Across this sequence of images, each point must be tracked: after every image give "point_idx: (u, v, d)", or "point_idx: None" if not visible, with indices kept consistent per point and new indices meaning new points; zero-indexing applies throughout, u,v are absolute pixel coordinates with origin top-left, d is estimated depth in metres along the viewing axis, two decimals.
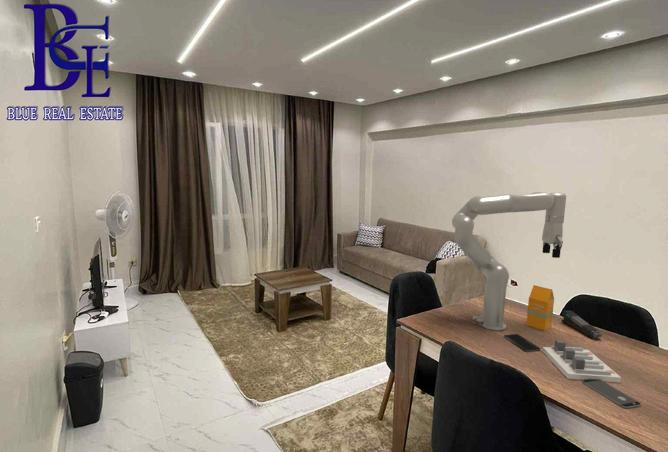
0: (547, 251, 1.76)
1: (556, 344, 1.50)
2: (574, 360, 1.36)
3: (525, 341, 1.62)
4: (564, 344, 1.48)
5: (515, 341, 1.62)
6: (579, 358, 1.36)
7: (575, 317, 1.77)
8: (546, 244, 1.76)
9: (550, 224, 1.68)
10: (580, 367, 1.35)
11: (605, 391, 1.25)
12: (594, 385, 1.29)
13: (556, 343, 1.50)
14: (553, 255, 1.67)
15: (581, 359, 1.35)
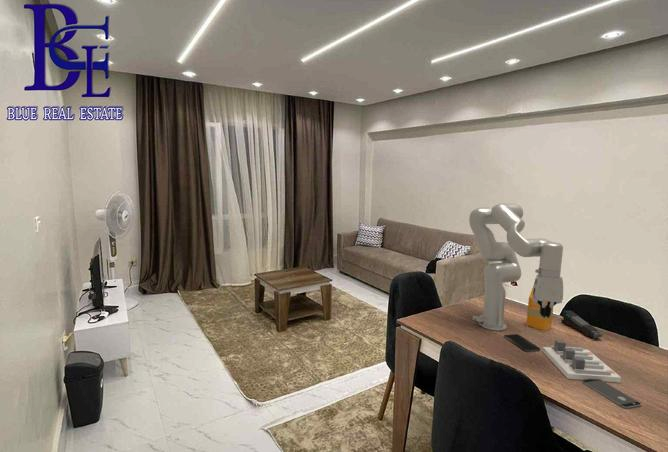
0: None
1: (556, 344, 1.50)
2: (574, 360, 1.36)
3: (525, 341, 1.62)
4: (564, 344, 1.48)
5: (515, 341, 1.62)
6: (579, 358, 1.36)
7: (575, 317, 1.77)
8: (544, 304, 1.48)
9: (558, 280, 1.44)
10: (580, 367, 1.35)
11: (605, 391, 1.25)
12: (594, 385, 1.29)
13: (556, 343, 1.50)
14: None
15: (581, 359, 1.35)
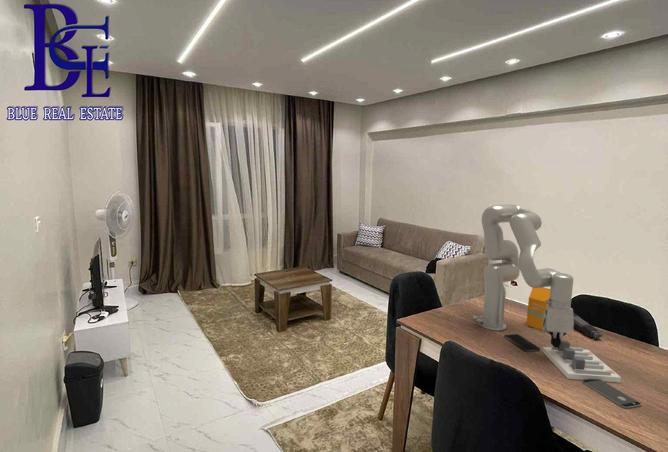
0: None
1: (560, 344, 1.50)
2: (574, 360, 1.36)
3: (525, 341, 1.62)
4: (568, 344, 1.48)
5: (515, 341, 1.62)
6: (579, 358, 1.36)
7: (575, 317, 1.77)
8: (555, 334, 1.49)
9: (568, 311, 1.45)
10: (580, 367, 1.35)
11: (605, 391, 1.25)
12: (594, 385, 1.29)
13: (560, 343, 1.50)
14: None
15: (581, 359, 1.35)
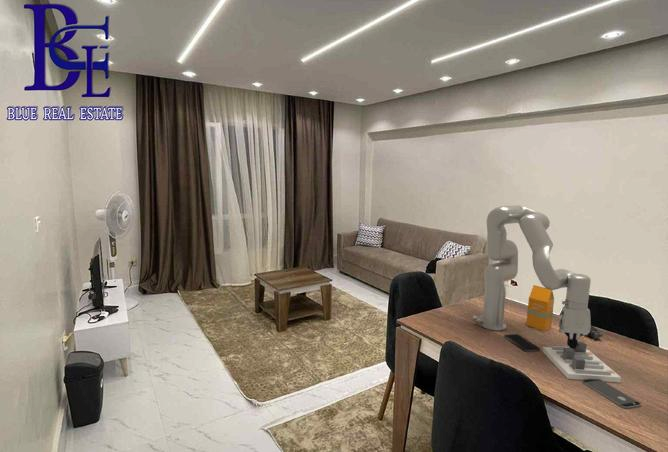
0: None
1: None
2: (574, 360, 1.36)
3: (525, 341, 1.62)
4: (585, 345, 1.47)
5: (515, 341, 1.62)
6: (579, 358, 1.36)
7: None
8: None
9: (585, 312, 1.44)
10: (580, 367, 1.35)
11: (605, 391, 1.25)
12: (594, 385, 1.29)
13: None
14: None
15: (581, 359, 1.35)
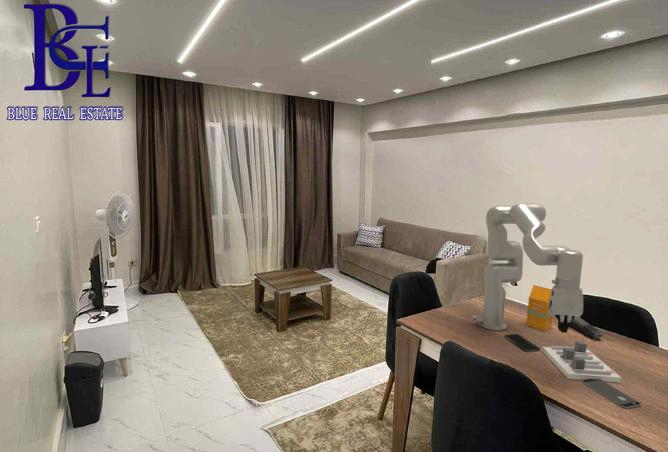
0: None
1: (577, 345, 1.49)
2: (574, 360, 1.36)
3: (525, 341, 1.62)
4: (585, 345, 1.47)
5: (515, 341, 1.62)
6: (579, 358, 1.36)
7: None
8: None
9: (577, 291, 1.30)
10: (580, 367, 1.35)
11: (605, 391, 1.25)
12: (594, 385, 1.29)
13: (577, 344, 1.49)
14: None
15: (581, 359, 1.35)
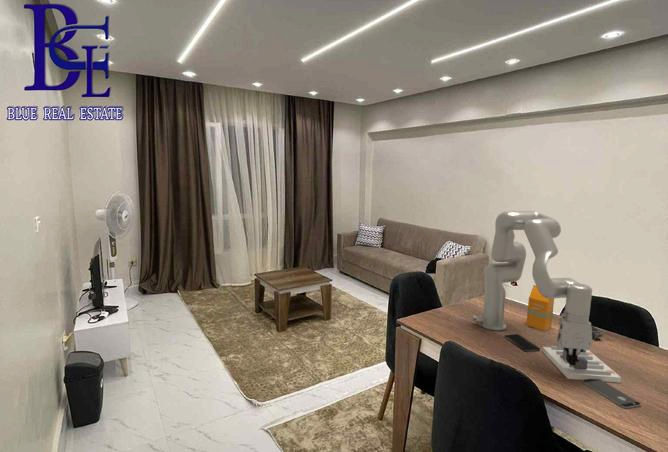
0: None
1: None
2: None
3: (525, 341, 1.62)
4: None
5: (515, 341, 1.62)
6: (581, 358, 1.36)
7: None
8: (571, 351, 1.35)
9: (586, 325, 1.31)
10: (583, 367, 1.35)
11: (605, 391, 1.25)
12: (594, 385, 1.29)
13: None
14: None
15: (583, 359, 1.35)
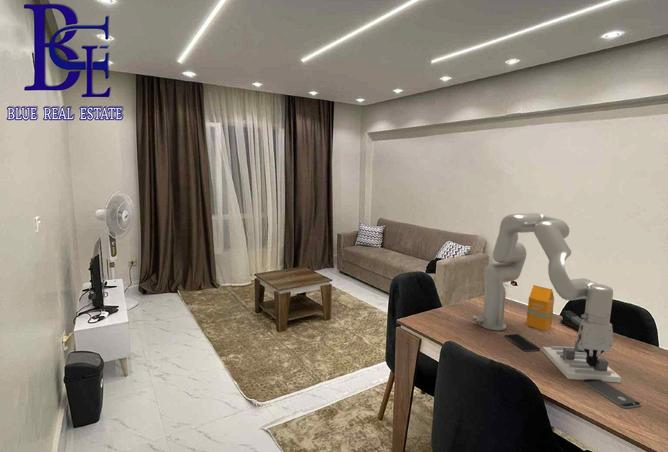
0: None
1: None
2: (597, 361, 1.35)
3: (525, 341, 1.62)
4: None
5: (515, 341, 1.62)
6: (601, 359, 1.35)
7: (575, 317, 1.77)
8: None
9: (607, 327, 1.30)
10: (603, 369, 1.34)
11: (605, 391, 1.25)
12: (594, 385, 1.29)
13: (577, 344, 1.49)
14: None
15: (604, 360, 1.34)
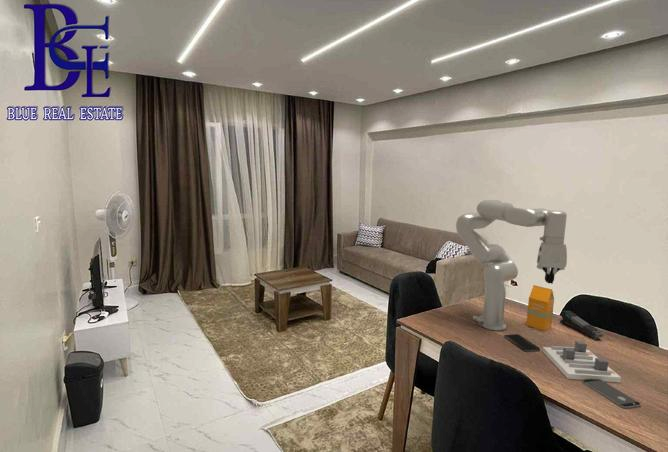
0: None
1: (577, 345, 1.49)
2: (597, 361, 1.35)
3: (525, 341, 1.62)
4: (585, 345, 1.47)
5: (515, 341, 1.62)
6: (601, 359, 1.35)
7: (575, 317, 1.77)
8: (549, 271, 1.53)
9: (561, 246, 1.49)
10: (603, 369, 1.34)
11: (605, 391, 1.25)
12: (594, 385, 1.29)
13: (577, 344, 1.49)
14: None
15: (604, 360, 1.34)
